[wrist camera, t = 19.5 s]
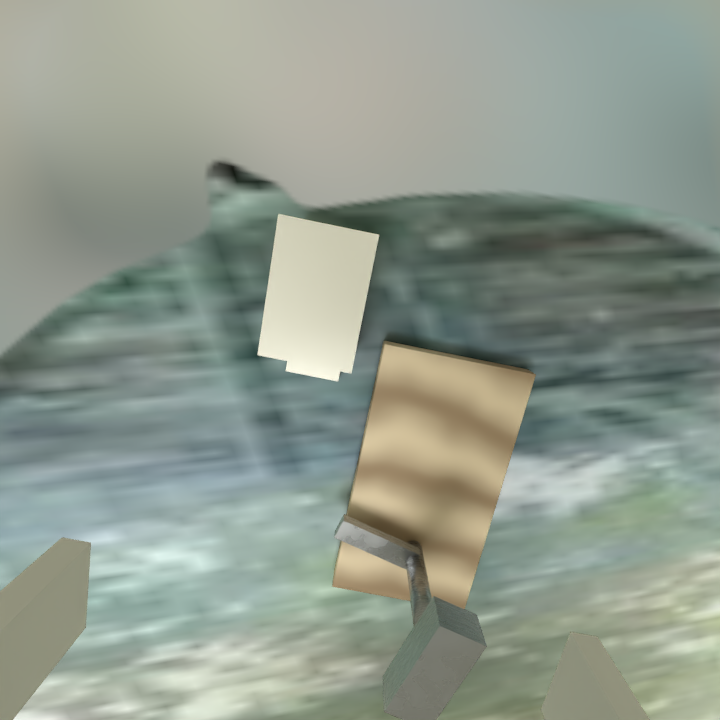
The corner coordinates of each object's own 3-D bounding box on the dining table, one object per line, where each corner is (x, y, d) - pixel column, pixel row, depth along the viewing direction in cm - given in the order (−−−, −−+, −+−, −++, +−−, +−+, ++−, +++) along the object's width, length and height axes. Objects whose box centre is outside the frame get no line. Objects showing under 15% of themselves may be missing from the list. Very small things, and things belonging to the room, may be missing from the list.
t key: (447, 523, 40) (486, 646, 27) (409, 585, 41) (428, 730, 28) (358, 482, 39) (353, 588, 26) (323, 547, 40) (301, 678, 27)
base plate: (459, 595, 44) (463, 610, 42) (333, 572, 44) (332, 586, 42) (527, 369, 39) (535, 374, 37) (383, 340, 38) (384, 344, 36)
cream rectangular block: (349, 380, 39) (343, 411, 30) (277, 366, 39) (251, 393, 30) (376, 243, 36) (379, 234, 28) (300, 227, 36) (278, 213, 28)
